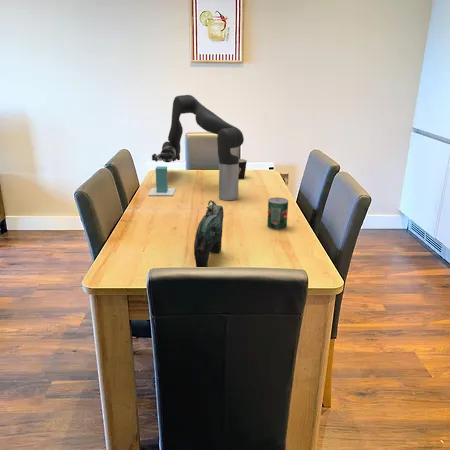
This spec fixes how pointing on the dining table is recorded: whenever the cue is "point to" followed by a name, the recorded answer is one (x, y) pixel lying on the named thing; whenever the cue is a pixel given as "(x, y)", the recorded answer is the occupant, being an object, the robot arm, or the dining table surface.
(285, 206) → the canned tomato
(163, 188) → the teal block
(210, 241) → the dark green power tool
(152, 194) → the white board
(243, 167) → the coffee mug
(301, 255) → the dining table surface
